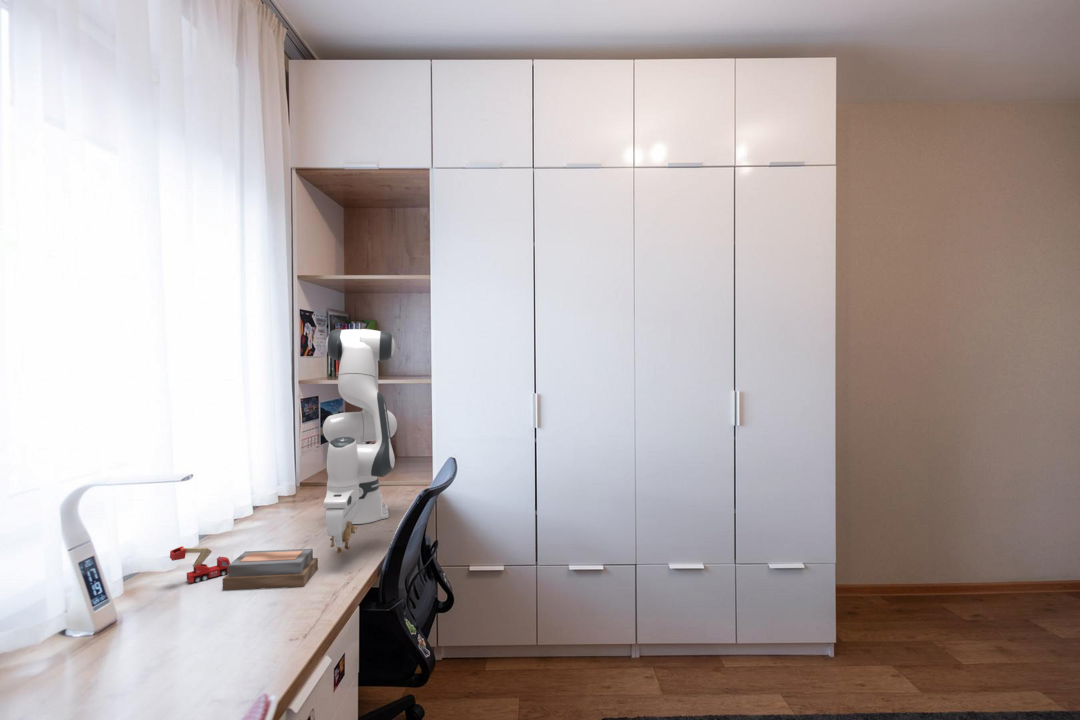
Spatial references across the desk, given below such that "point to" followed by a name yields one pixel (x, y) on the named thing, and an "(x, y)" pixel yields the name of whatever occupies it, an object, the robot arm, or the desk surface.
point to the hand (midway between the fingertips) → (343, 540)
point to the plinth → (271, 580)
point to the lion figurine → (345, 536)
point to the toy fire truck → (201, 569)
